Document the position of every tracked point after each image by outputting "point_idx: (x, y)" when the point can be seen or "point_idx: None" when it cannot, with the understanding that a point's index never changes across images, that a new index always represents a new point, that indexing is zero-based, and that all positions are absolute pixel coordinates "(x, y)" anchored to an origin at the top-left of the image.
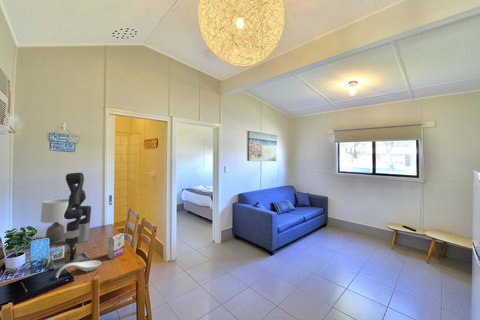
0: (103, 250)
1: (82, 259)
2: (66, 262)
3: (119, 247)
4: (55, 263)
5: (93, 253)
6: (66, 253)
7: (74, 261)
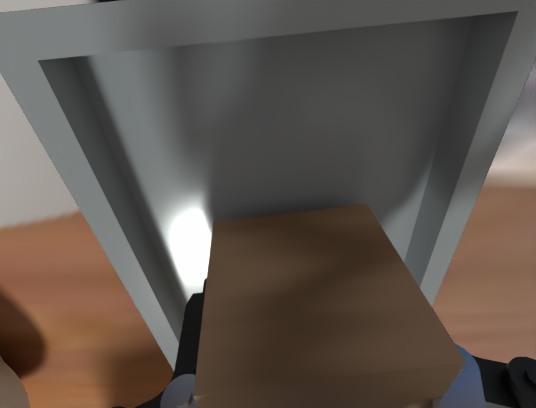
0: None
1: (167, 357)
2: (274, 210)
3: None
4: (380, 62)
5: None
6: (266, 388)
7: (144, 307)
